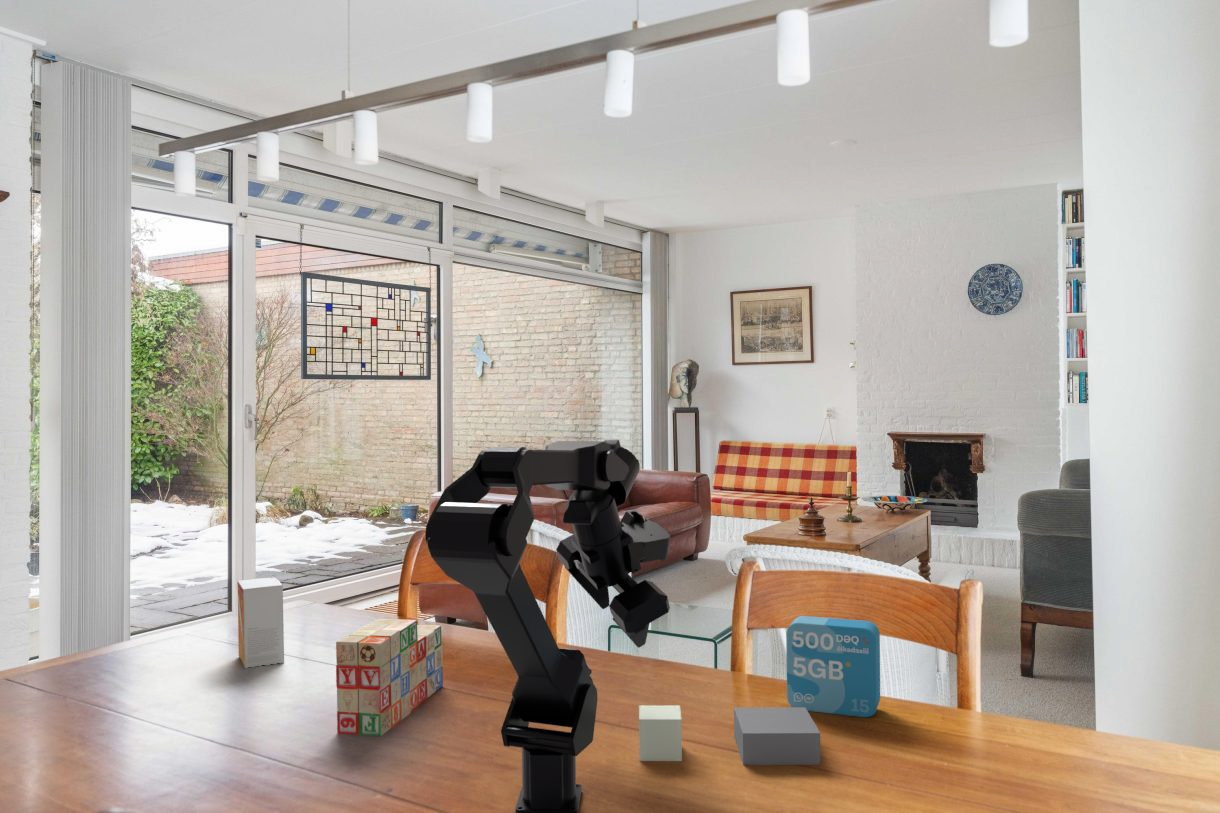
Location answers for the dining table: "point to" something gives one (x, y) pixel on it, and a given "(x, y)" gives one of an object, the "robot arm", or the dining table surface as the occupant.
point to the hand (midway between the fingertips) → (622, 625)
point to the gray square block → (776, 736)
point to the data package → (833, 665)
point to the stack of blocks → (385, 674)
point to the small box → (260, 622)
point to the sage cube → (660, 733)
